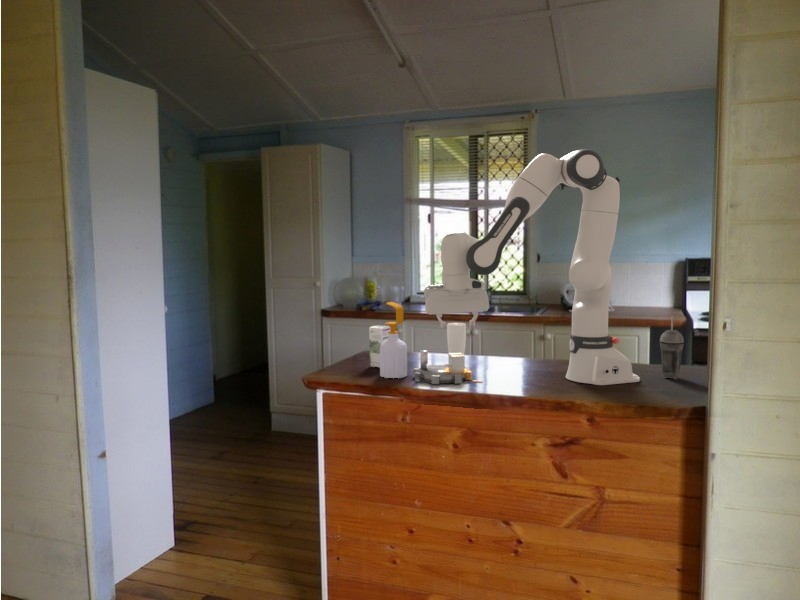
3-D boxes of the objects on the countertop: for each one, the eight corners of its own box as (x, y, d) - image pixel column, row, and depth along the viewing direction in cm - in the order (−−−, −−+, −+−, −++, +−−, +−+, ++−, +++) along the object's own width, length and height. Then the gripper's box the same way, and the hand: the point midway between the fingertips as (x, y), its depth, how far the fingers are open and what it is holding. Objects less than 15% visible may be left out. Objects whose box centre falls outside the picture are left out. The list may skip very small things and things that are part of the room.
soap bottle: (389, 372, 210) (388, 300, 208) (412, 374, 206) (411, 301, 203) (374, 377, 203) (373, 303, 200) (398, 380, 198) (397, 304, 196)
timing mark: (472, 381, 195) (472, 380, 195) (473, 381, 196) (473, 380, 196) (481, 382, 193) (481, 381, 193) (482, 381, 194) (482, 380, 194)
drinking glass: (466, 363, 223) (465, 322, 222) (466, 367, 216) (466, 325, 215) (447, 363, 224) (447, 322, 222) (446, 367, 217) (446, 325, 215)
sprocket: (421, 370, 211) (421, 345, 210) (476, 373, 205) (476, 347, 205) (406, 382, 193) (405, 355, 192) (465, 386, 187) (465, 358, 187)
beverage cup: (658, 379, 195) (660, 316, 193) (657, 374, 201) (659, 314, 199) (684, 381, 192) (686, 317, 190) (682, 376, 199) (684, 314, 197)
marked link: (460, 367, 201) (460, 352, 201) (464, 371, 195) (464, 355, 195) (448, 368, 201) (448, 352, 200) (452, 372, 195) (452, 356, 194)
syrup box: (391, 365, 221) (391, 325, 219) (382, 368, 216) (381, 327, 214) (378, 364, 224) (377, 324, 222) (369, 367, 219) (368, 326, 217)
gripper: (425, 286, 191) (427, 330, 192) (489, 282, 193) (491, 326, 194) (422, 285, 197) (424, 327, 198) (484, 281, 199) (486, 323, 201)
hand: (457, 327), depth 196 cm, fingers open, 8 cm apart
